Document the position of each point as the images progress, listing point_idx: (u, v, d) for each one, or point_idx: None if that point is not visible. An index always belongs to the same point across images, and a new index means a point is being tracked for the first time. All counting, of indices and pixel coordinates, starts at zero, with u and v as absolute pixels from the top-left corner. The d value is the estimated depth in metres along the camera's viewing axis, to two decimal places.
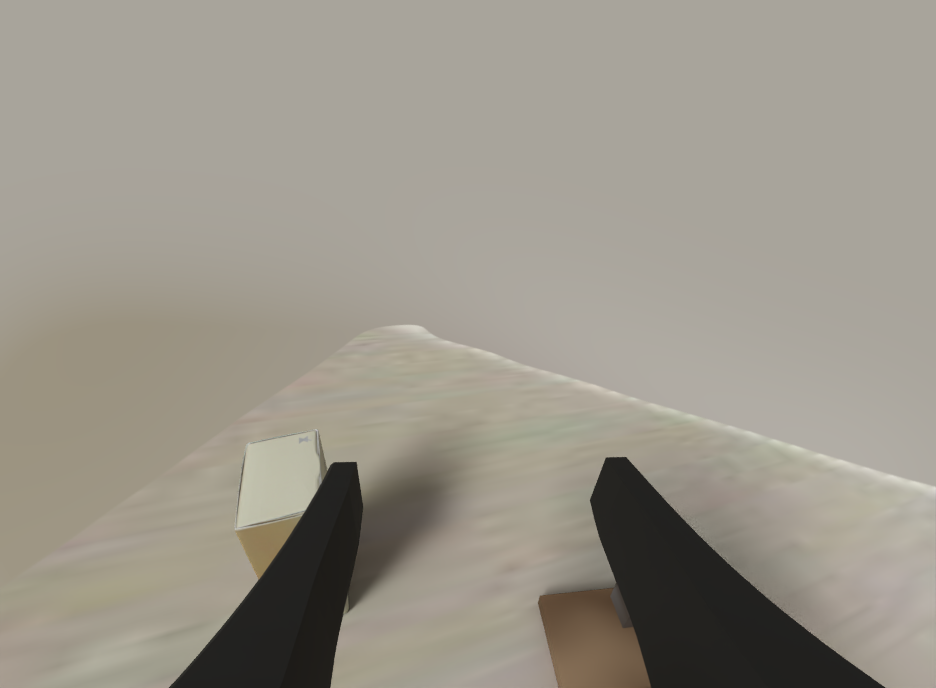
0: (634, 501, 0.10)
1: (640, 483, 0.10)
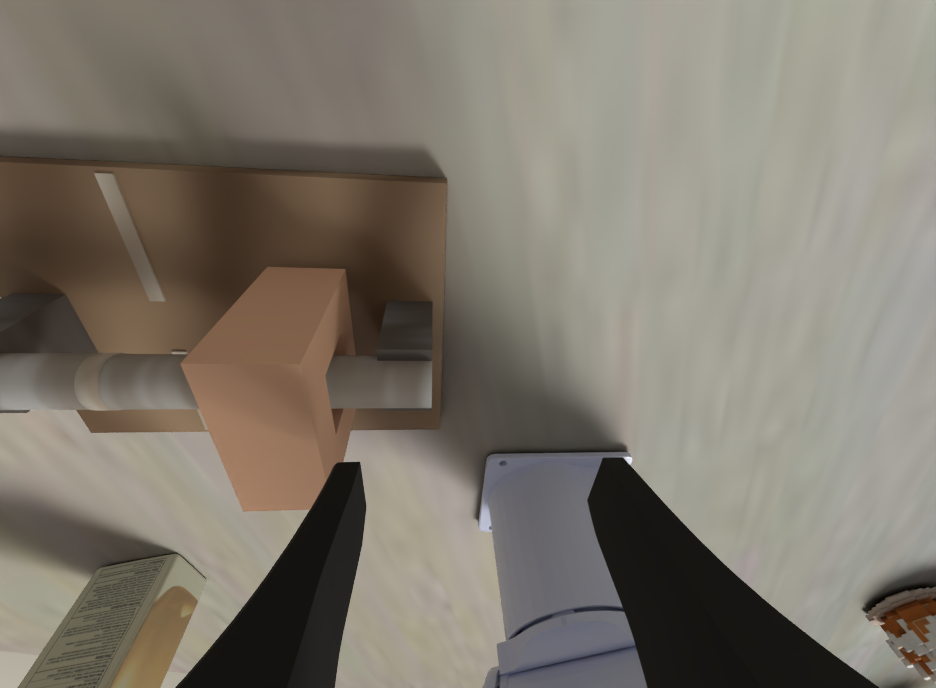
0: (630, 501, 0.10)
1: (637, 483, 0.10)
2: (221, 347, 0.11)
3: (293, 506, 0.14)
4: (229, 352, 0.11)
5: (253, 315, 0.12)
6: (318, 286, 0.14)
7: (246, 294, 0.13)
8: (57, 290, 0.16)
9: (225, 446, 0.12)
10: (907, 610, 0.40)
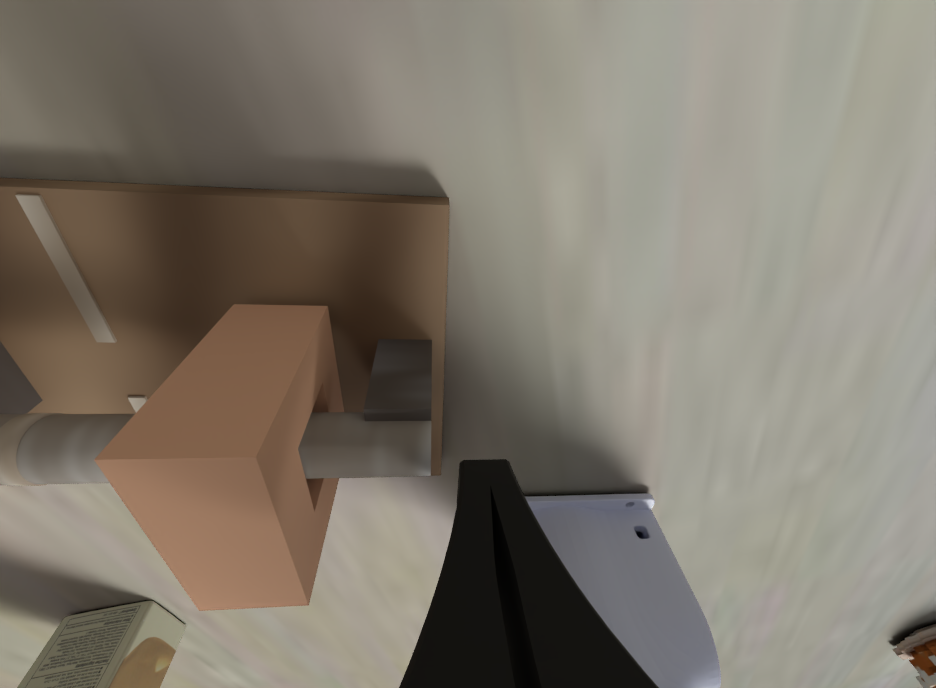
0: (495, 505, 0.09)
1: (507, 486, 0.10)
2: (155, 430, 0.08)
3: (261, 604, 0.11)
4: (164, 438, 0.08)
5: (205, 377, 0.10)
6: (292, 331, 0.12)
7: (201, 345, 0.11)
8: None
9: (167, 547, 0.09)
10: None
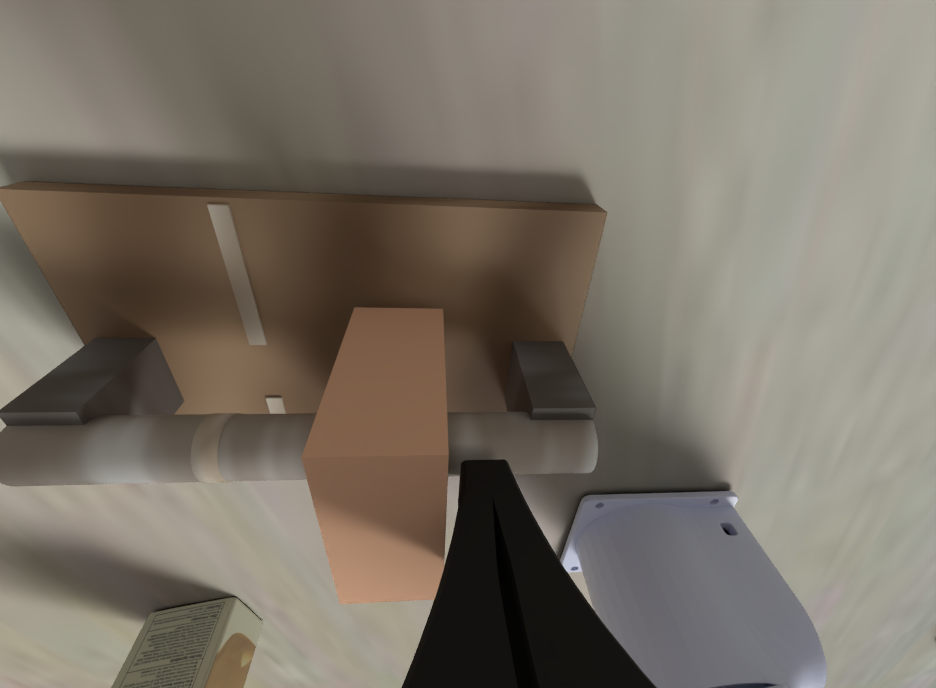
0: (494, 505, 0.09)
1: (506, 486, 0.10)
2: (343, 429, 0.09)
3: (398, 598, 0.12)
4: (355, 437, 0.09)
5: (363, 378, 0.10)
6: (422, 334, 0.12)
7: (344, 347, 0.11)
8: (147, 333, 0.14)
9: (335, 541, 0.10)
10: None
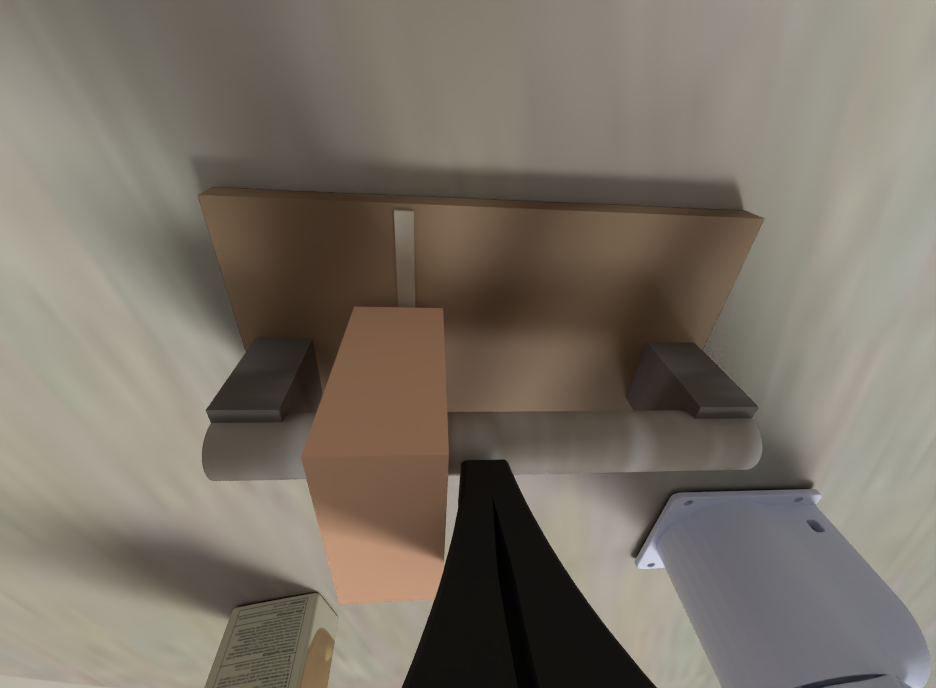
0: (494, 505, 0.09)
1: (506, 486, 0.10)
2: (342, 429, 0.09)
3: (398, 598, 0.12)
4: (355, 436, 0.08)
5: (363, 378, 0.10)
6: (422, 333, 0.12)
7: (344, 346, 0.11)
8: (305, 334, 0.14)
9: (334, 541, 0.10)
10: None
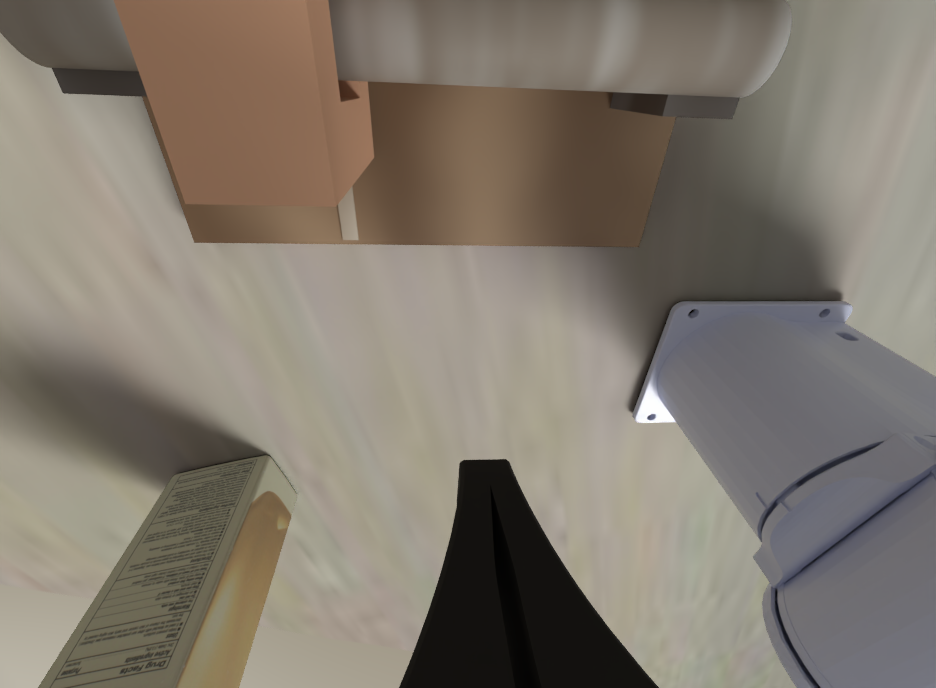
0: (495, 505, 0.09)
1: (507, 486, 0.10)
2: None
3: (269, 195, 0.08)
4: None
5: None
6: None
7: None
8: None
9: None
10: None
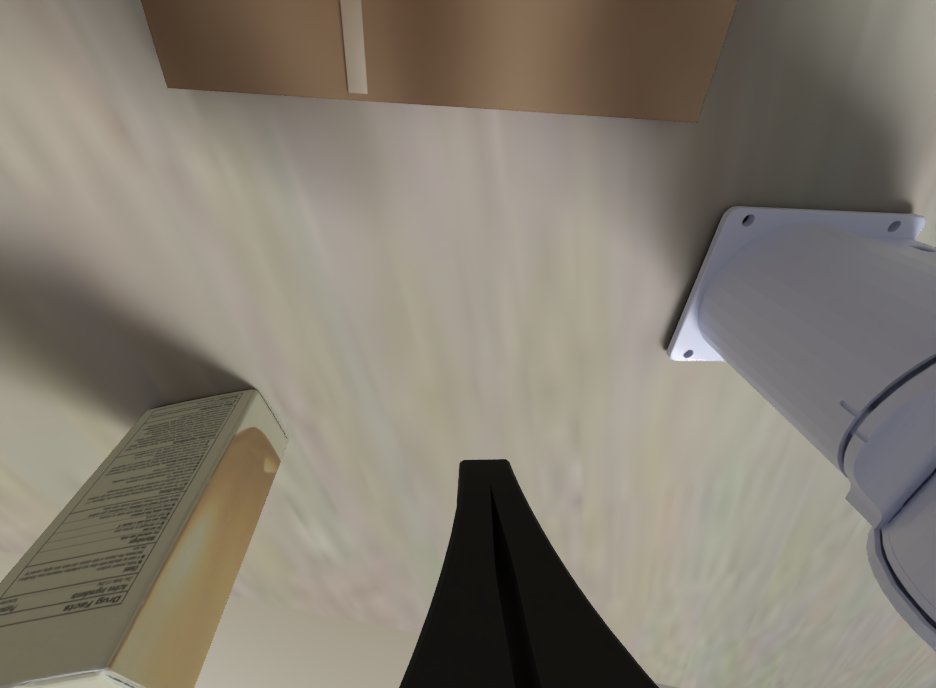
0: (495, 505, 0.09)
1: (507, 486, 0.10)
2: None
3: None
4: None
5: None
6: None
7: None
8: None
9: None
10: None
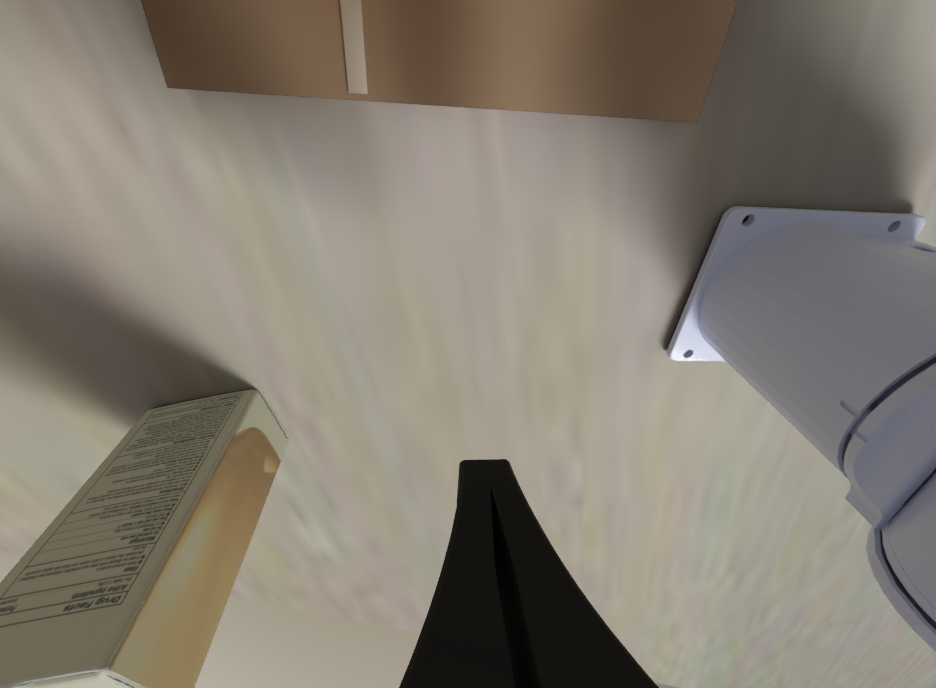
0: (495, 505, 0.09)
1: (507, 486, 0.10)
2: None
3: None
4: None
5: None
6: None
7: None
8: None
9: None
10: None
